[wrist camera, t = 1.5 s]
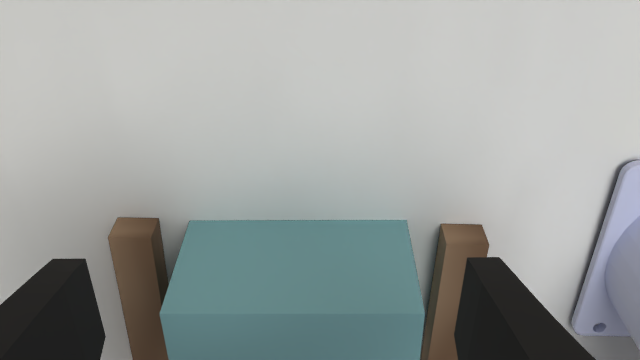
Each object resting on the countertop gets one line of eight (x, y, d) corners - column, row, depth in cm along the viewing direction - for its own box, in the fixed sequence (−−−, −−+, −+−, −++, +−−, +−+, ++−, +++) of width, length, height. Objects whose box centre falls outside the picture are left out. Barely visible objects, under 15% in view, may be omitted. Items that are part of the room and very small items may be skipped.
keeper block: (405, 217, 23) (425, 313, 18) (396, 333, 26) (410, 438, 21) (190, 218, 23) (159, 313, 18) (207, 333, 26) (184, 438, 21)
